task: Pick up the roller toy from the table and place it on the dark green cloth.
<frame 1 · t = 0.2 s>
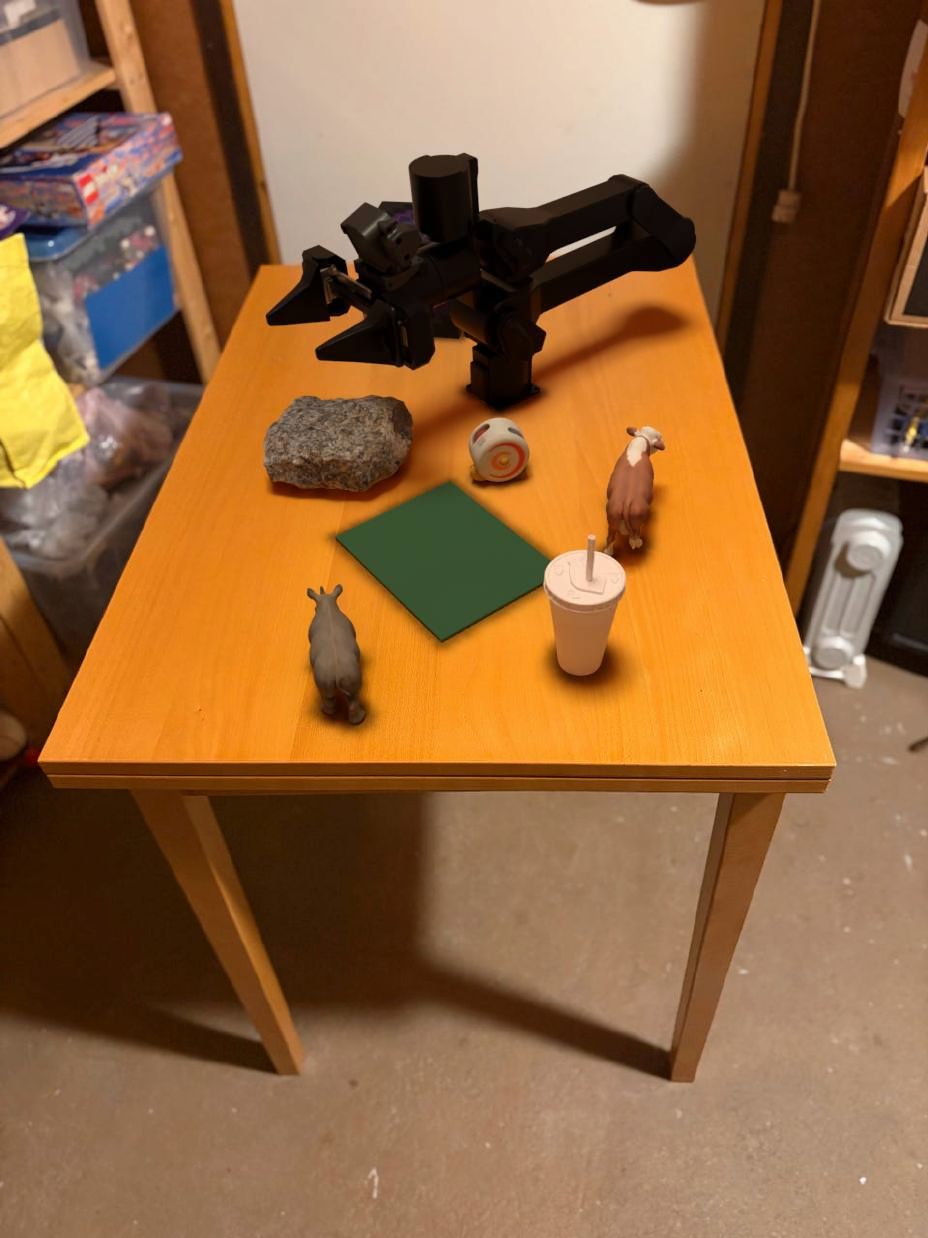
hand: (291, 337, 87), 16 cm above the table, tool horizontal, fingers open, 9 cm apart
cloth: (446, 555, 89), on the table
roller toy: (499, 474, 98), on the table
rock: (343, 466, 100), on the table
rhino figurine: (338, 666, 80), on the table
energy cube: (423, 314, 123), on the table
bull figurine: (628, 525, 91), on the table
smoothie: (579, 660, 79), on the table
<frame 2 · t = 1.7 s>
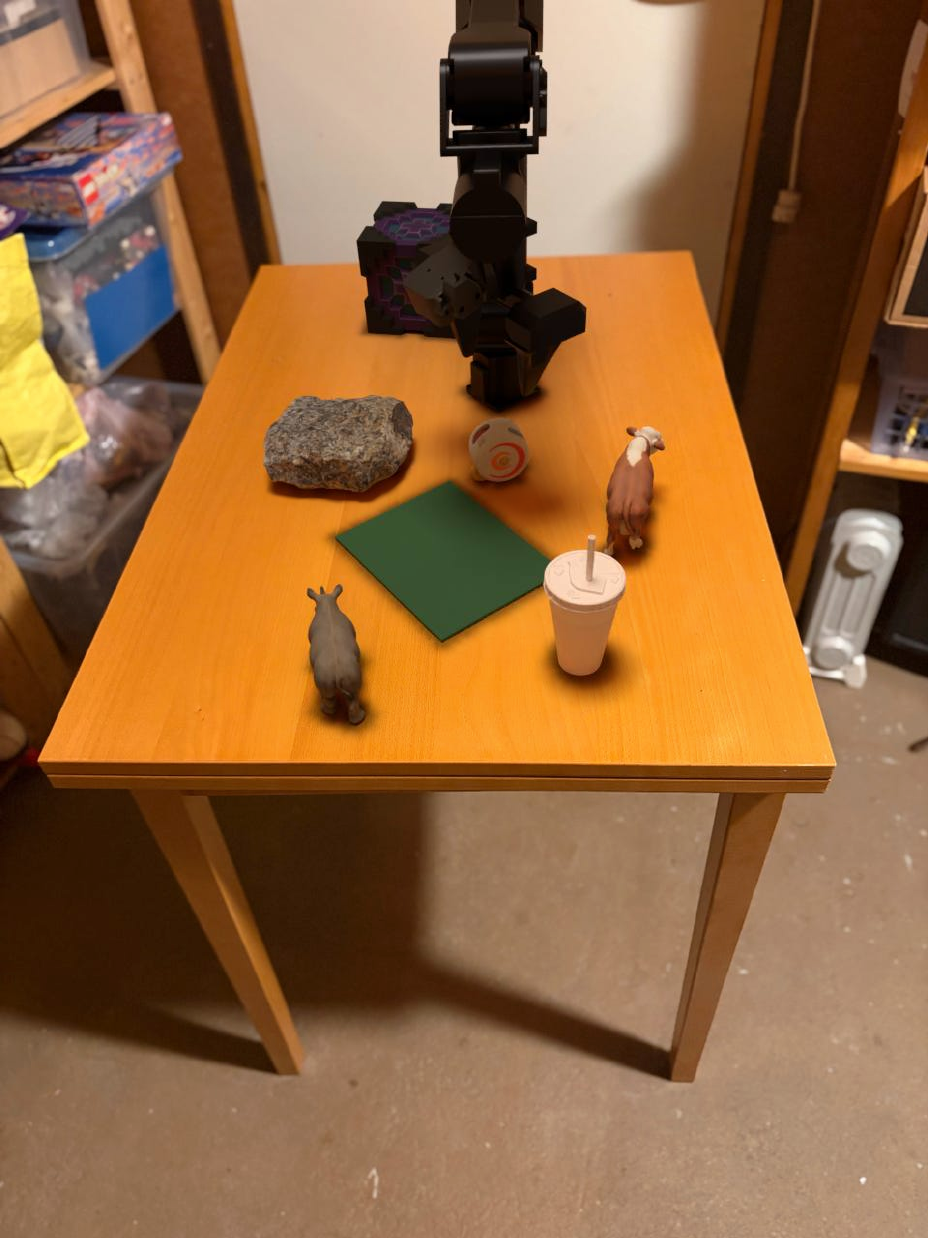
hand: (496, 374, 89), 12 cm above the table, tool pointing down, fingers open, 9 cm apart
nothing on the table moved.
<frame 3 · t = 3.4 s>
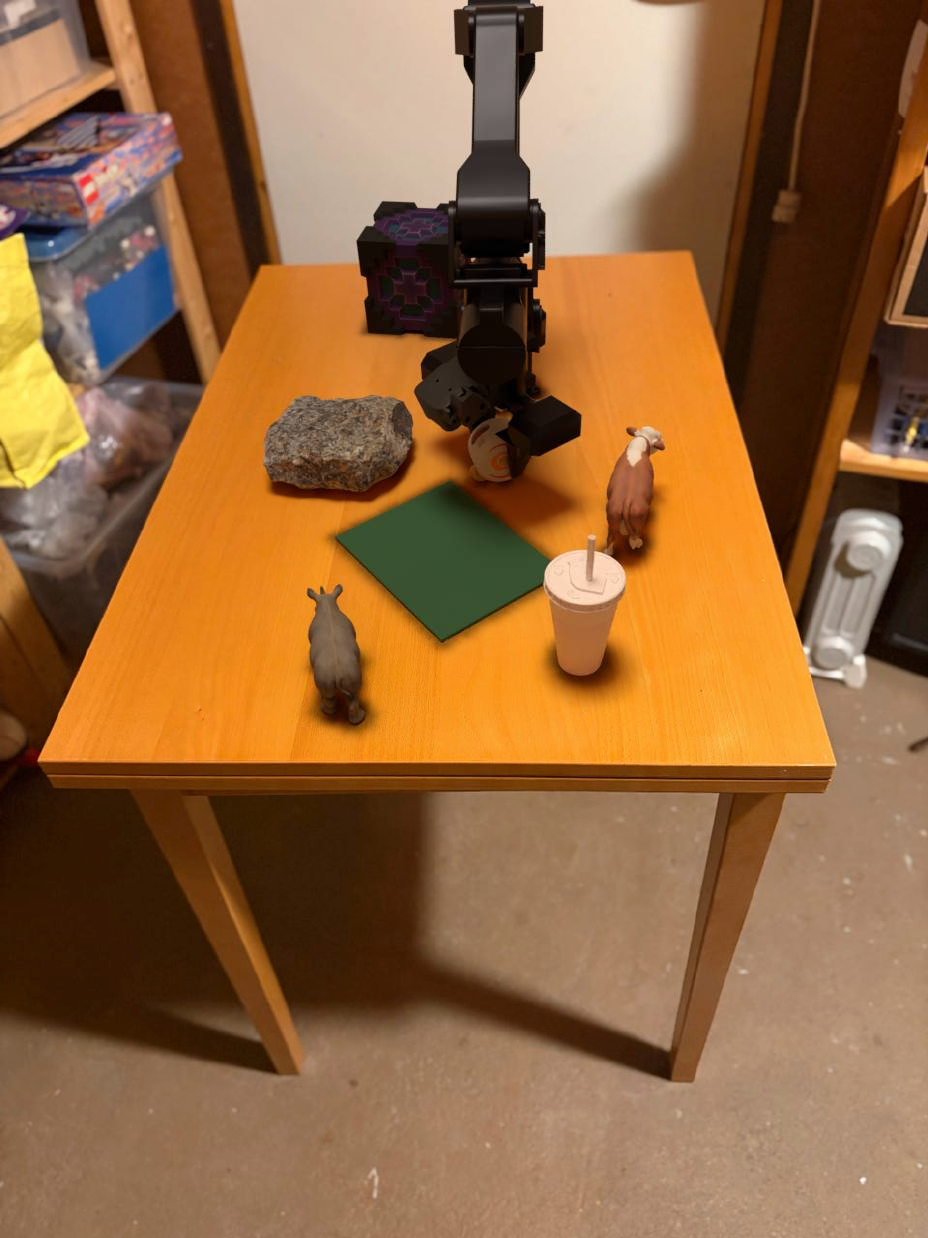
hand: (499, 465, 97), 1 cm above the table, tool pointing down, fingers closed on roller toy, 5 cm apart
roller toy: (499, 474, 98), on the table, touching gripper
everything else where it was.
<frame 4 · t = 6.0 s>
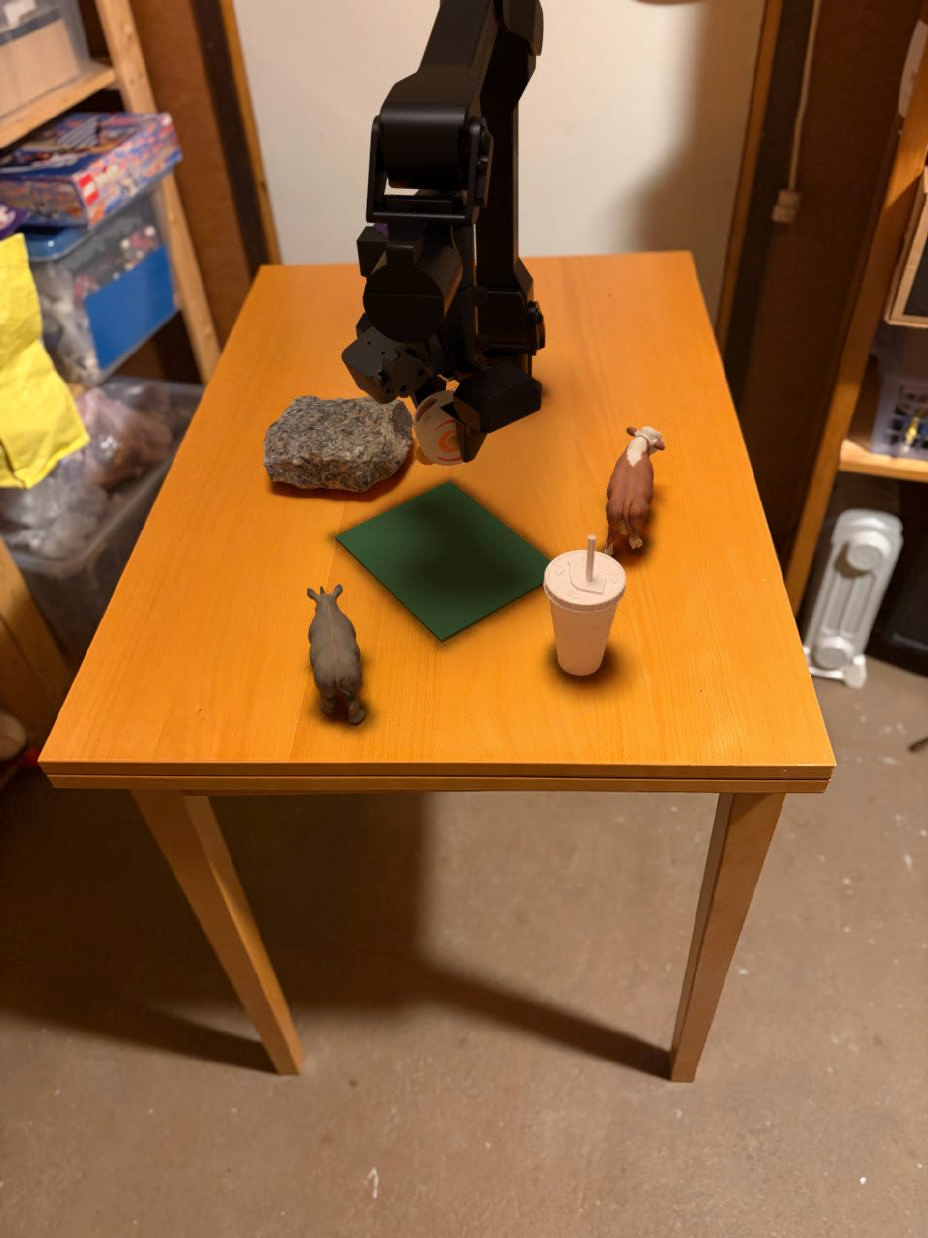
hand: (450, 446, 83), 11 cm above the table, tool pointing down, fingers closed on roller toy, 5 cm apart
roller toy: (450, 457, 83), point 10 cm above the table, touching gripper
everything else where it was.
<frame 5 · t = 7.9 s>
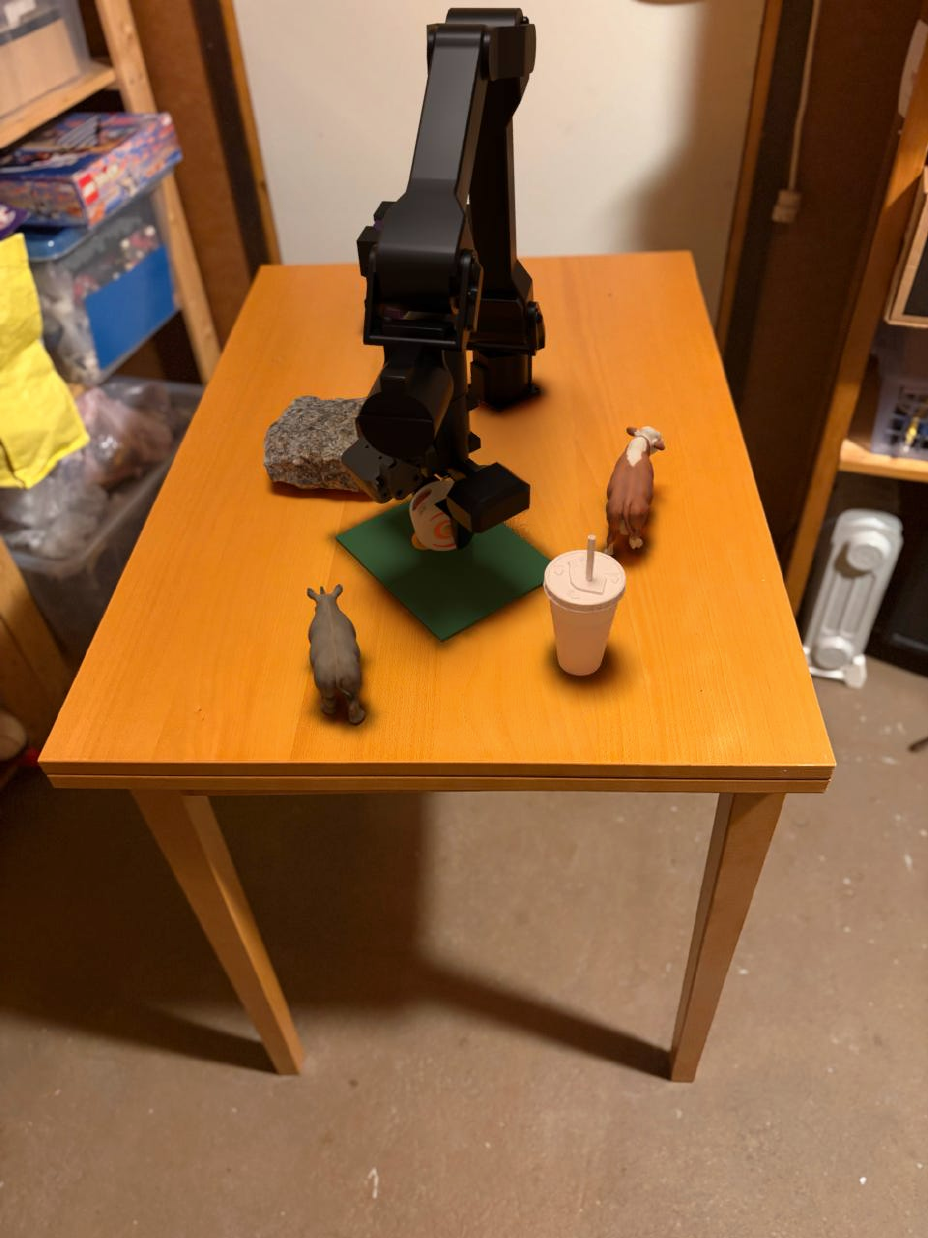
hand: (444, 532, 87), 3 cm above the table, tool pointing down, fingers closed on roller toy, 5 cm apart
roller toy: (445, 541, 88), point 2 cm above the table, touching gripper
everything else where it was.
when the fingers open (1 cm above the table, at t = 8.8 s): roller toy stays where it is, resting on cloth.
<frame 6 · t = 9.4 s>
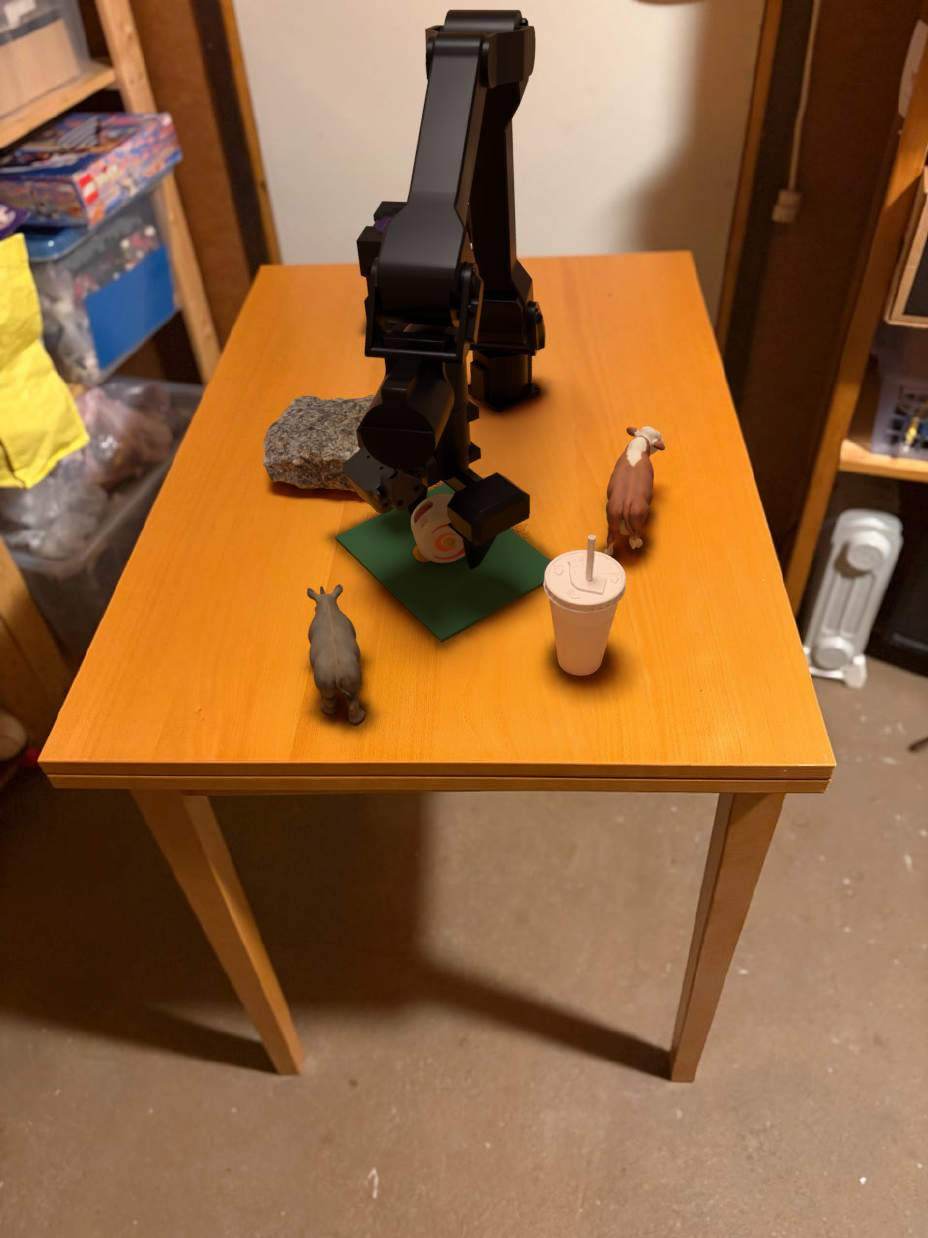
hand: (445, 541, 88), 2 cm above the table, tool pointing down, fingers open, 9 cm apart
roller toy: (445, 553, 89), resting on cloth
everything else where it was.
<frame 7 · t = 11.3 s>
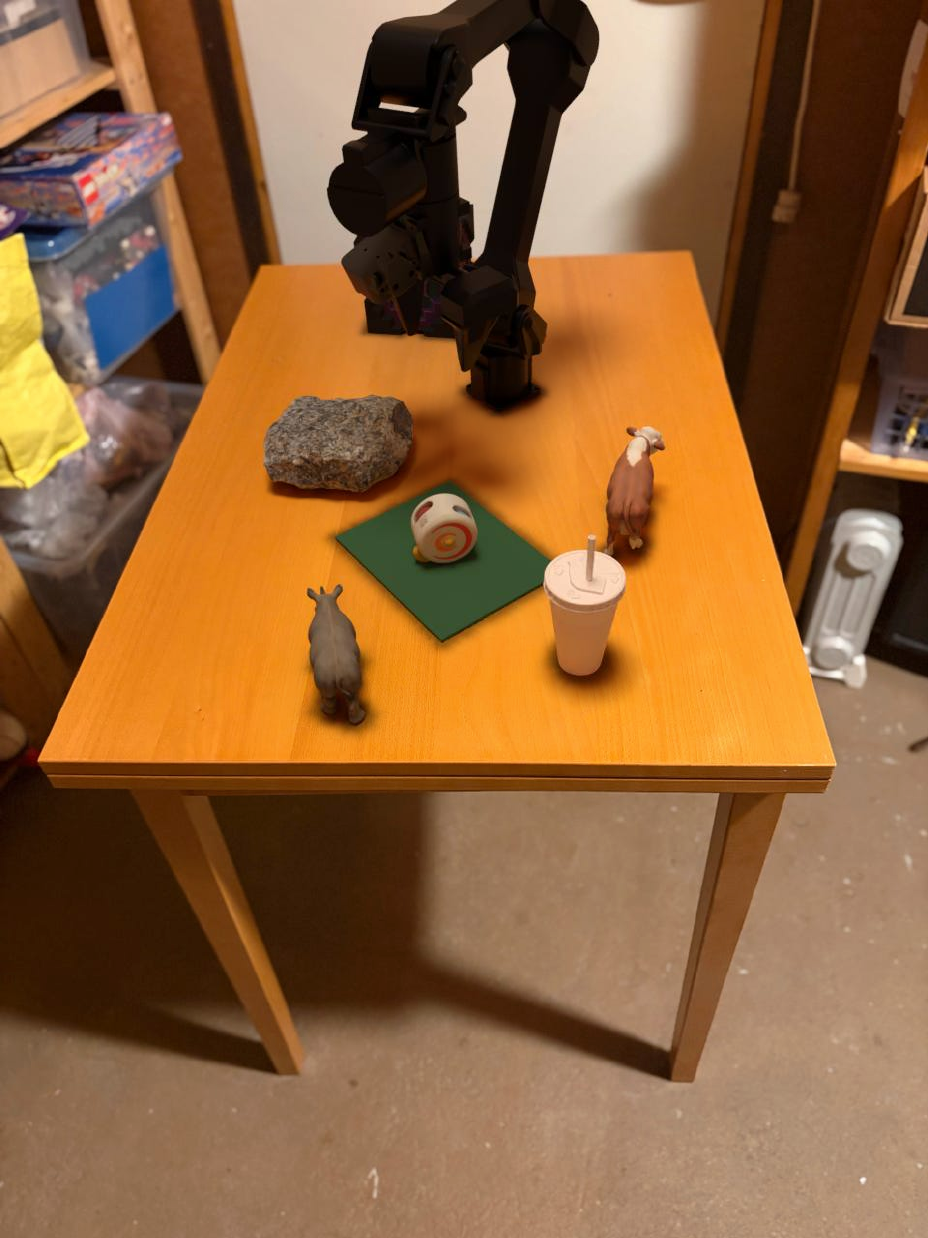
hand: (438, 351, 92), 12 cm above the table, tool pointing down, fingers open, 9 cm apart
nothing on the table moved.
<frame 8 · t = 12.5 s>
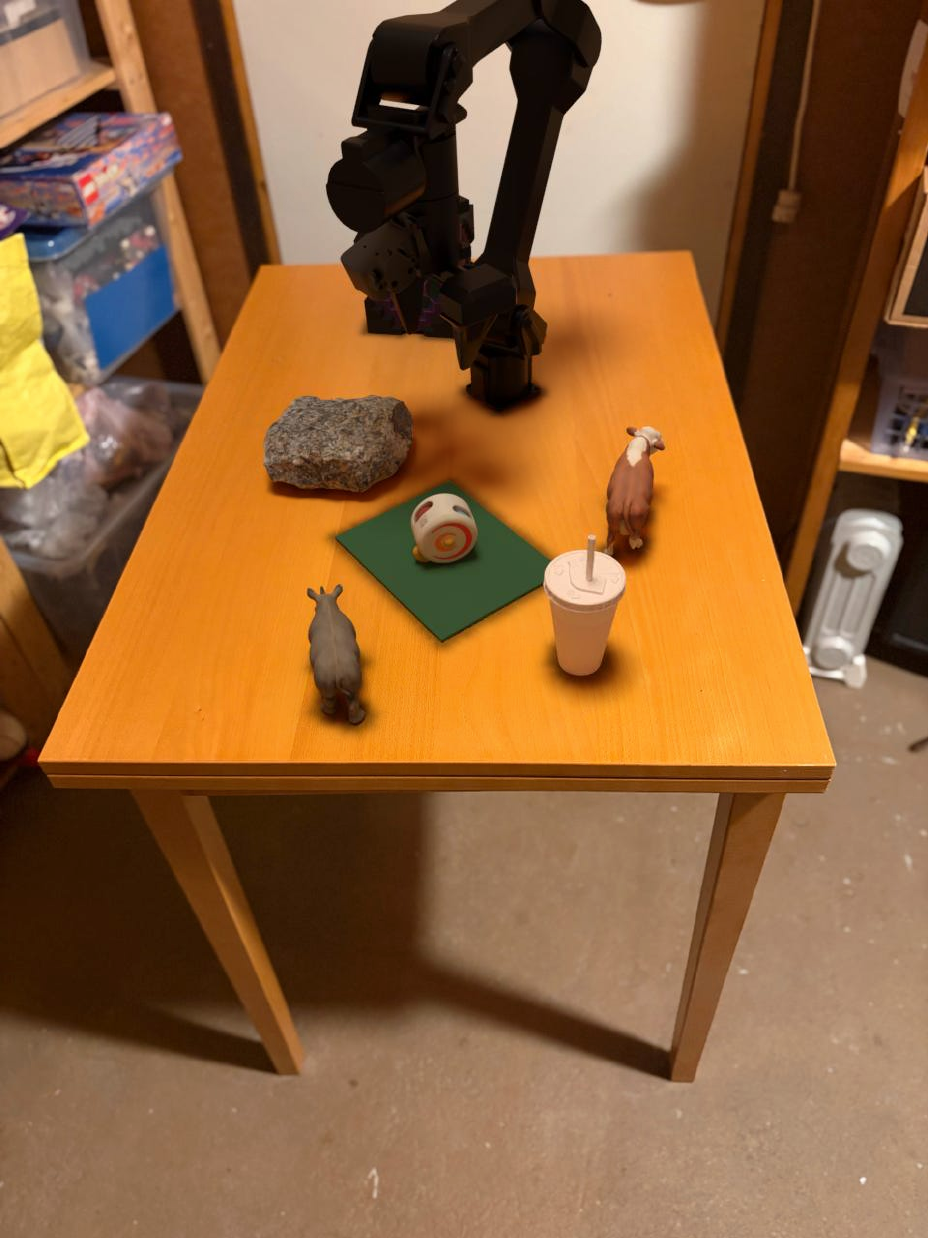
hand: (437, 350, 92), 12 cm above the table, tool pointing down, fingers open, 9 cm apart
nothing on the table moved.
at the end: roller toy inside the target area on the cloth (0.1 cm from its centre), point 0.1 cm above the cloth's base; the gripper is holding nothing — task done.
